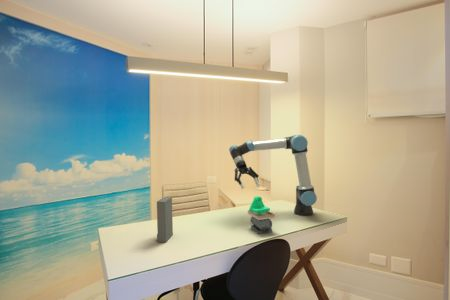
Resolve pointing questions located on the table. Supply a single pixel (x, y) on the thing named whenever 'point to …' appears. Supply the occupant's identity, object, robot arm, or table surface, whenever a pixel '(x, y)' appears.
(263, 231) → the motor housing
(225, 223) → the table surface
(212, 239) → the table surface
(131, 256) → the table surface
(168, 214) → the grey upright slab
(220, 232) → the table surface
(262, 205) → the green piece
